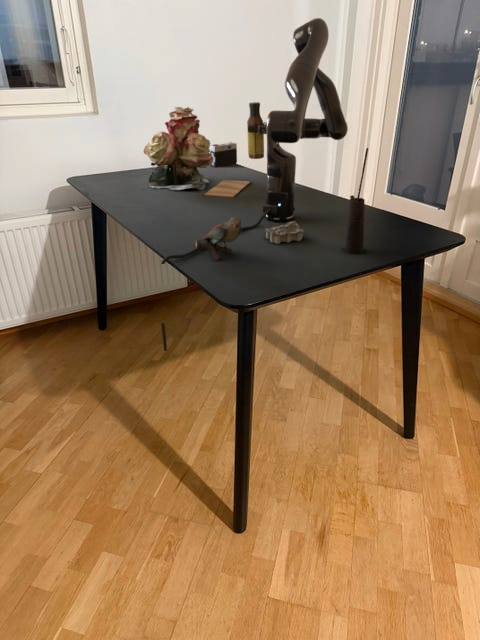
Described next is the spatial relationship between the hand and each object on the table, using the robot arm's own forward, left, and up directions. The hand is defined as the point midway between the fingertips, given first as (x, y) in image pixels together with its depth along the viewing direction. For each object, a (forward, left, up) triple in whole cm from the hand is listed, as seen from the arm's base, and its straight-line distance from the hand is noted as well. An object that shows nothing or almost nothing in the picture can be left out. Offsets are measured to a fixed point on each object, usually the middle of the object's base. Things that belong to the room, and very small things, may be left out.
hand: (249, 127), depth 177 cm
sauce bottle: (0, -2, -11) cm, 11 cm away
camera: (+44, +27, -24) cm, 57 cm away
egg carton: (-52, -26, -24) cm, 63 cm away
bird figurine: (-70, -10, -24) cm, 75 cm away
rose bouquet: (+2, +29, -24) cm, 38 cm away
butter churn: (-55, -46, -24) cm, 75 cm away
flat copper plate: (-1, +9, -24) cm, 25 cm away
